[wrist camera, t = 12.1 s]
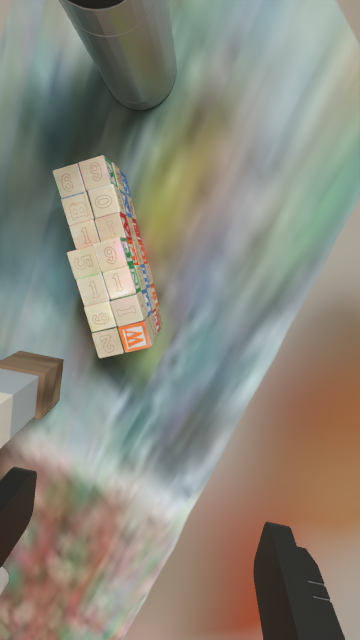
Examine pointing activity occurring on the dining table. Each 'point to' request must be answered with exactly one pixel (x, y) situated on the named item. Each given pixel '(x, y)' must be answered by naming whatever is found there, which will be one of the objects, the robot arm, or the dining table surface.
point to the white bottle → (3, 579)
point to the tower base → (47, 380)
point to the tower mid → (20, 396)
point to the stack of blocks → (109, 257)
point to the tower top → (5, 417)
